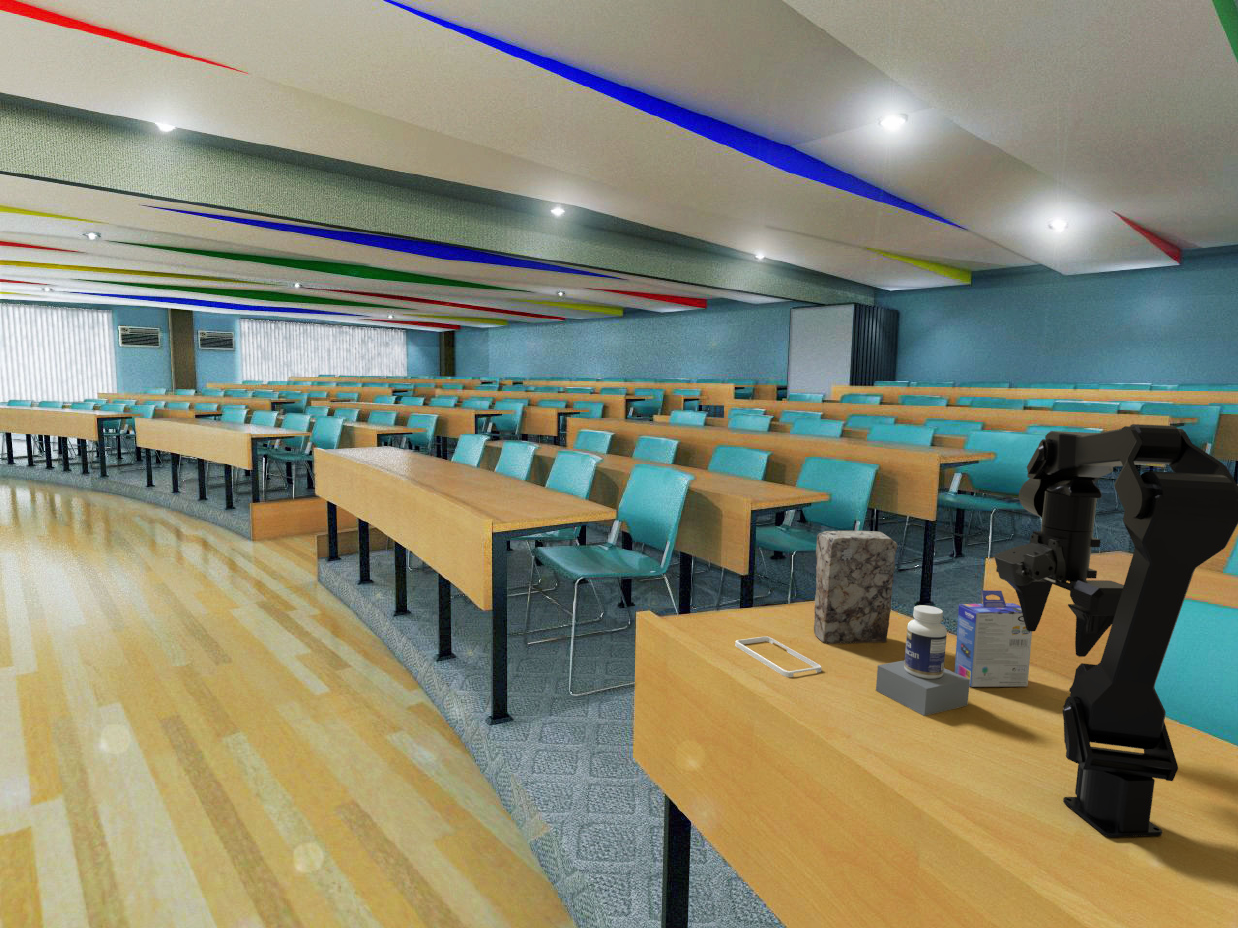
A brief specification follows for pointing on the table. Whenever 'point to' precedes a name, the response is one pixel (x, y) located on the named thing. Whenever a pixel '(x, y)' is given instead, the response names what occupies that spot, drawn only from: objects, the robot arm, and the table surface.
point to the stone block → (853, 586)
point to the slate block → (922, 689)
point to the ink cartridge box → (992, 643)
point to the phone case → (783, 672)
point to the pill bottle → (926, 643)
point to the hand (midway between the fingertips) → (1054, 642)
